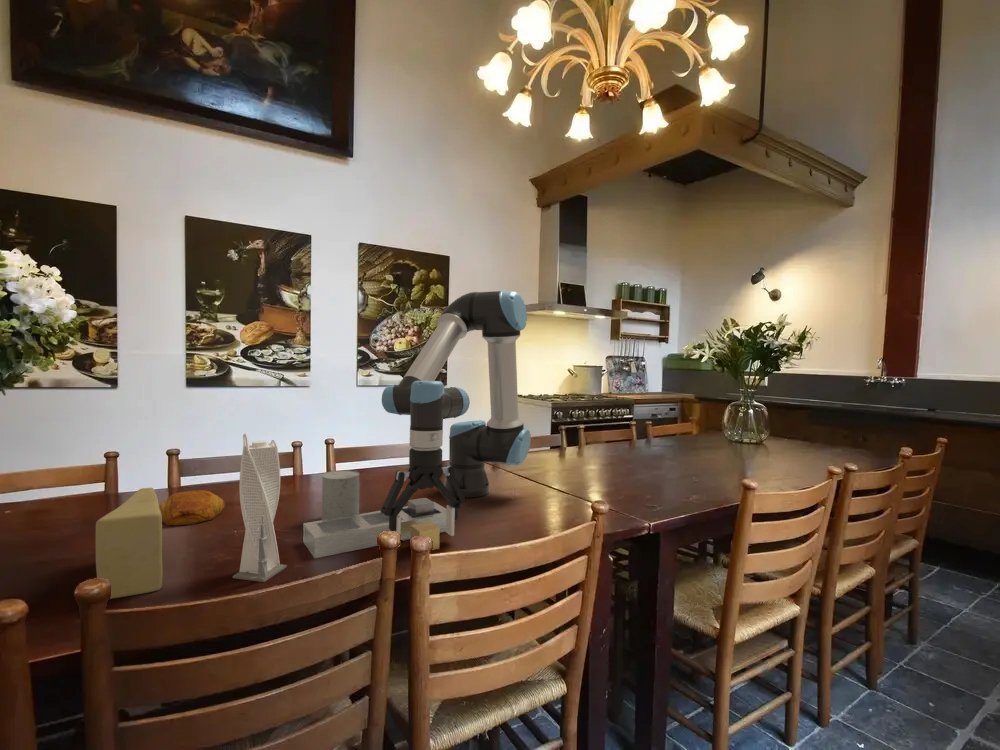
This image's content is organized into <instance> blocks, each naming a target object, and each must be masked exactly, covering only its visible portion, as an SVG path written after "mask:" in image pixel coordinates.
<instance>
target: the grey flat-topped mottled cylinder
mask: <svg viewBox="0 0 1000 750" xmlns="http://www.w3.org/2000/svg"><path fill="white" fill-rule="evenodd" d="M360 474H361V473H360V472H359V471H356V470H349V469H345V470H344V469H343V470H341V469H339V470H333V471H327V472H324V473H323V474H322V475H321V477H322V479H321V480H322V485H321V486H322V487H321V488H322V489H321V490H322V491H321V492H322V495H321V496H322V497H321V498H322V499H321V501H322V502H321V503H322V508H321V511H322V512H321V520H326V519H332V518H339V517H345V516H351V515H357V514H360Z"/></svg>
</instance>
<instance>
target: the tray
mask: <svg viewBox="0 0 1000 750" xmlns="http://www.w3.org/2000/svg"><path fill="white" fill-rule="evenodd" d="M446 514H447V507H444V506H442V505H440V504H439V503H437V502H436V501H432V500H431V499H429V498H427V497H422V498H415V499H409V500H408V502H407V506H406V505H405V506H404V507H403V509H402V510H401V511H400V513H399V514H398V515H399V516H400V517H401V529H400V535H401V540H402V541H401V542H403V541H407V540H410V529H411V525H414V524H420V523H425V522H431V523H433V524H435V525H436V526H438V527H439V528H440V534H441V533H446ZM302 525H303V527H302V528H303V530H302V531H303V532H302V533H303V535H302V536H303V538H302V539H303V541H302V542H303V544H304V545H305V547H306V548H307V550H308V551H309V552H310V554H311V556H312V557H313V558H314V559H320V558H325V557H330V556H333V555H339V554H344V553H348V552H352V551H357V550H362V549H363V550H364V549H368V548H374V547H378V546H379V545H377V537H378V535H379V534H380V533H381V532H383V531H389V530H390V529H389V516H386V515H384V514H383V513H382V512H381V510H376V511H371V512H363V513H359V514H357V515H351V516H345V517H339V518H332V519H326V520H322V519H320V520H316V521H309V522H303V524H302ZM390 531H391V530H390Z"/></svg>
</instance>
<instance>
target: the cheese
mask: <svg viewBox="0 0 1000 750" xmlns="http://www.w3.org/2000/svg"><path fill="white" fill-rule="evenodd" d="M159 504H160V503H159V499H158V495H157V492H156V491H155V489H154V487H145V488H140V489H138V490H137V491H135V492H134V493H133V494H132V495H131V496H130V497H129V498H128V499H127V500H125V501H124V502H123V503H122V504H121V505H120V506H118V507H117V508H115V509H114V510H111V511H110V512H108V513H106V515H104V516H102V517H100V518H99V519H98V520H97V521H96V522H95V568H96V569H95V571H96V579H97V578H104V579H108V580H109V581H110V582H111V597H110V599H109V600H112V599H119V598H124V597H130V596H137V595H142V594H147V593H152V592H156V591H159V590H160V589H161V588H162V587H163V586H162V585H163V552H162V551H163V548H162V547H163V545H162V544H163V522H162V515H161V512H160V508H159Z"/></svg>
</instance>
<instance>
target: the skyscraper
mask: <svg viewBox="0 0 1000 750" xmlns="http://www.w3.org/2000/svg"><path fill="white" fill-rule="evenodd" d="M242 439H243V440H242V441H243V446H242V453H241V460H240V469H239V471H240V472H239V482H238V483H239V486H238V487H239V501H240V503H239V504H240V509H241V514H242V520H243V524H244V529H245V532H244V537H243V538H244V539H243V545H242V551H241V558H240V564H239V565H240V566H239V572H236V573H235V574H234V575H232V579H236V580H238V579H239V580H245V581H253V582H260V583H265V582H266V581H268V580H269V579H272V578H273V577H274V576H276V575H277V574H279V573H281V572H282V571H283V570H285V569H286V568H287V567H288V565H287V564H280V556H279V549H278V543H277V537H276V532H275V526H274V521H275V517H276V512H277V509H278V505H279V499H280V495H281V494H280V490H281V467H280V466H281V465H280V457H279V450H278V444H277V442H276V441H275V440H274V439H271V440H270V442H269V443H268V440H255V441H252V442H251V444H249V438H248V435H247V433H243V436H242Z"/></svg>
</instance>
